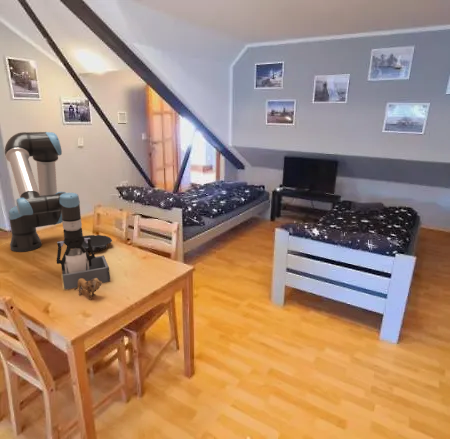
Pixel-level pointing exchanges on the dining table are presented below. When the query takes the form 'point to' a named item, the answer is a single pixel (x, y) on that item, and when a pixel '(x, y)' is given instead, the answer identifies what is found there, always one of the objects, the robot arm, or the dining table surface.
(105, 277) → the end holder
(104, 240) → the board
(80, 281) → the lion figurine
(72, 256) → the cup
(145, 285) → the dining table surface
